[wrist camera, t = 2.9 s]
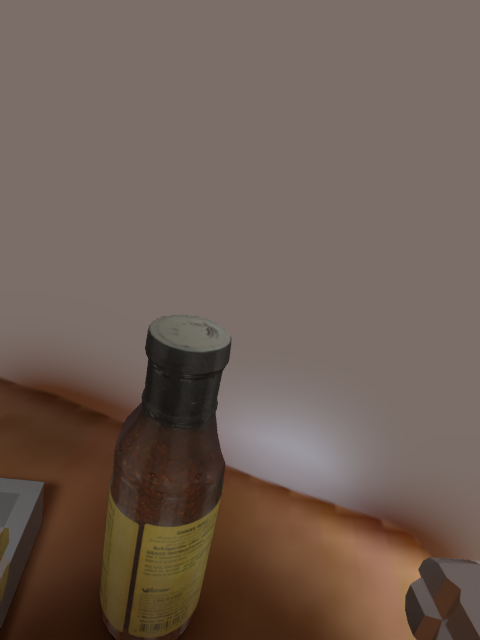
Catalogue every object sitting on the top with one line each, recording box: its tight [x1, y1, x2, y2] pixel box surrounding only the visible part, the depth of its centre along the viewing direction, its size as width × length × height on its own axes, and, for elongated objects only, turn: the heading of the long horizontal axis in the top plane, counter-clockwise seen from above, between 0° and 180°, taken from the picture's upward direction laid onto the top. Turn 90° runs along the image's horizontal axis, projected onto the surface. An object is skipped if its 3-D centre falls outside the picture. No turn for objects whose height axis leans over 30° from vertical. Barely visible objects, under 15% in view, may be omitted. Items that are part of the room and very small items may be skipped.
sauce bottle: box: [100, 315, 231, 640], centre depth 25 cm, size 7×6×20 cm
